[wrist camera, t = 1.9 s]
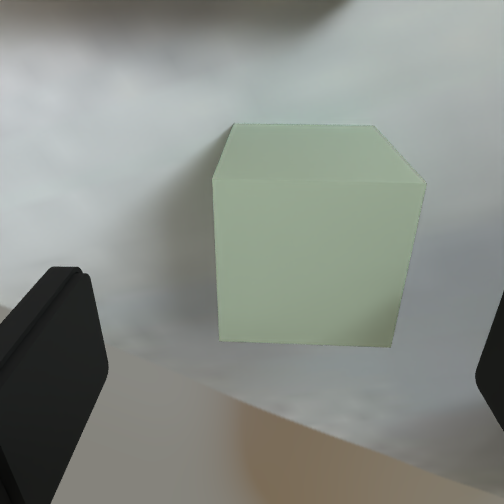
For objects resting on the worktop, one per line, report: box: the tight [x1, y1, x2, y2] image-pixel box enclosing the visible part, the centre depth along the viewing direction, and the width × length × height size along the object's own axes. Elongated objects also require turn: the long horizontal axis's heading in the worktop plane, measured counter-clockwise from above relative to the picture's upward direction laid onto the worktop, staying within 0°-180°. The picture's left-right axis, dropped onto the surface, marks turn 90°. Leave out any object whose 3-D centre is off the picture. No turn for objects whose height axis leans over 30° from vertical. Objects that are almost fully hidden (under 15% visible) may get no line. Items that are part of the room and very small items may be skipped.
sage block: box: [212, 124, 427, 348], centre depth 14 cm, size 5×5×6 cm
